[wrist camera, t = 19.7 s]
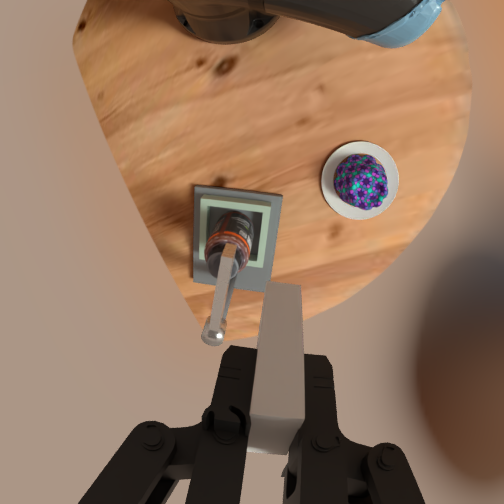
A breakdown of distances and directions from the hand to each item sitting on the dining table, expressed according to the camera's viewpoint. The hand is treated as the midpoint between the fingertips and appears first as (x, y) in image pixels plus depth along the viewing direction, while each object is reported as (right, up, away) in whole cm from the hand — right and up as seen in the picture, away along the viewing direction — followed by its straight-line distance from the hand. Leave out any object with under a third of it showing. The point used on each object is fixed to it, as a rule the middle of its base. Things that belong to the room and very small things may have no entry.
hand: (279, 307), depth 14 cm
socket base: (-4, +4, +35) cm, 36 cm away
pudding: (+15, +13, +29) cm, 35 cm away
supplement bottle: (-4, +6, +33) cm, 34 cm away
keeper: (-5, -2, +23) cm, 24 cm away
